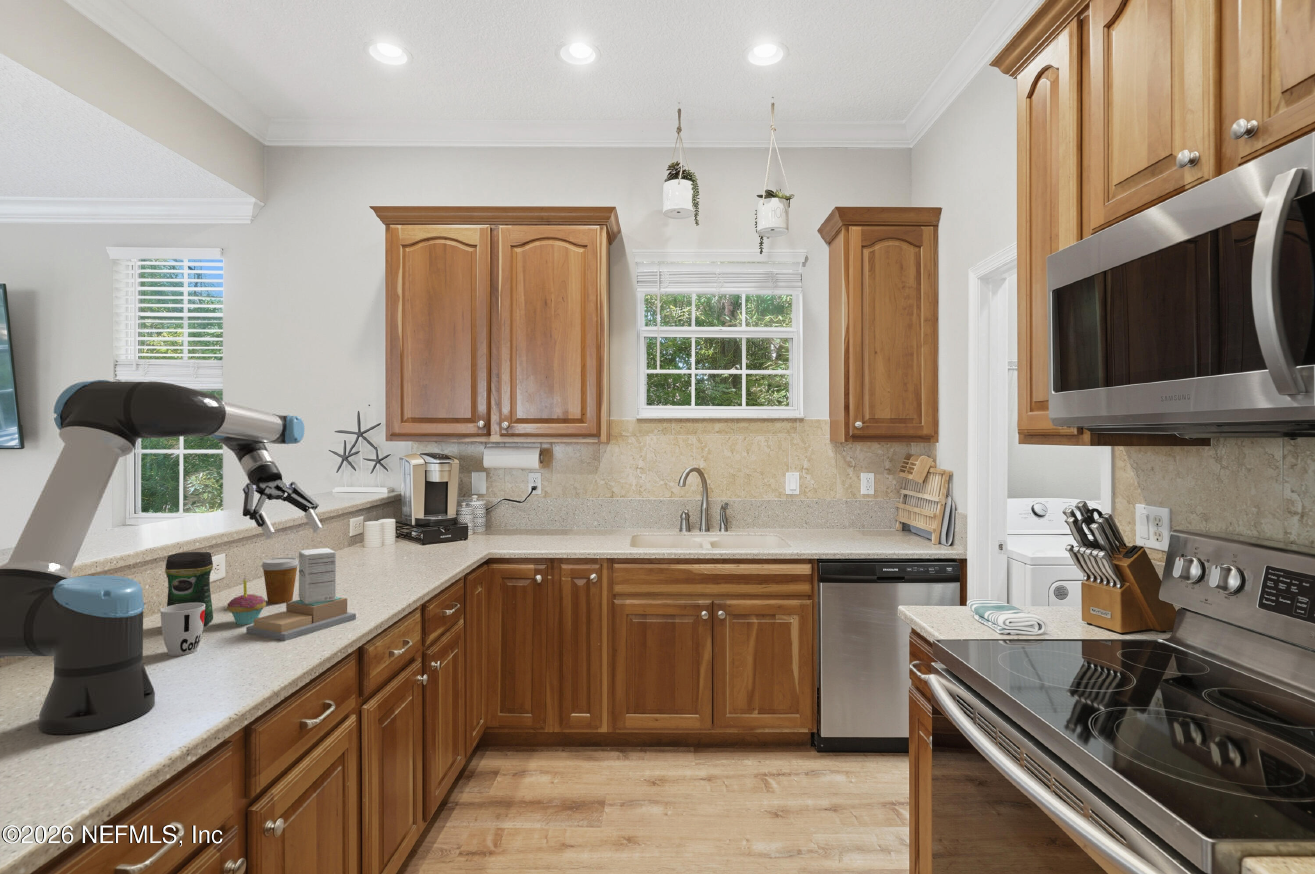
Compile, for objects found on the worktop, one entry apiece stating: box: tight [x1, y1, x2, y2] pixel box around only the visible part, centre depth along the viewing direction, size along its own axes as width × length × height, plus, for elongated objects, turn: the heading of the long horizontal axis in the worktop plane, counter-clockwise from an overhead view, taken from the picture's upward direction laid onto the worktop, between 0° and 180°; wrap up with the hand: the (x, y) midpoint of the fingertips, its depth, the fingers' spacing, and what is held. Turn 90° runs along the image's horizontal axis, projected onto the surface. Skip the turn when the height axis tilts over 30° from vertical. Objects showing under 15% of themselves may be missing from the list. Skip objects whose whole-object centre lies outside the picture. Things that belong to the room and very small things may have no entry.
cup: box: [159, 603, 205, 657], centre depth 145 cm, size 8×8×10 cm
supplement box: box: [298, 547, 337, 604], centre depth 169 cm, size 7×7×13 cm
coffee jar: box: [164, 551, 214, 626], centre depth 165 cm, size 10×8×19 cm
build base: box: [245, 596, 357, 642], centre depth 165 cm, size 20×14×6 cm
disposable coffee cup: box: [261, 556, 299, 605], centre depth 189 cm, size 10×10×12 cm
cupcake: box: [226, 577, 267, 626], centre depth 168 cm, size 9×8×12 cm
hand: (295, 532), depth 171 cm, fingers open, 13 cm apart
